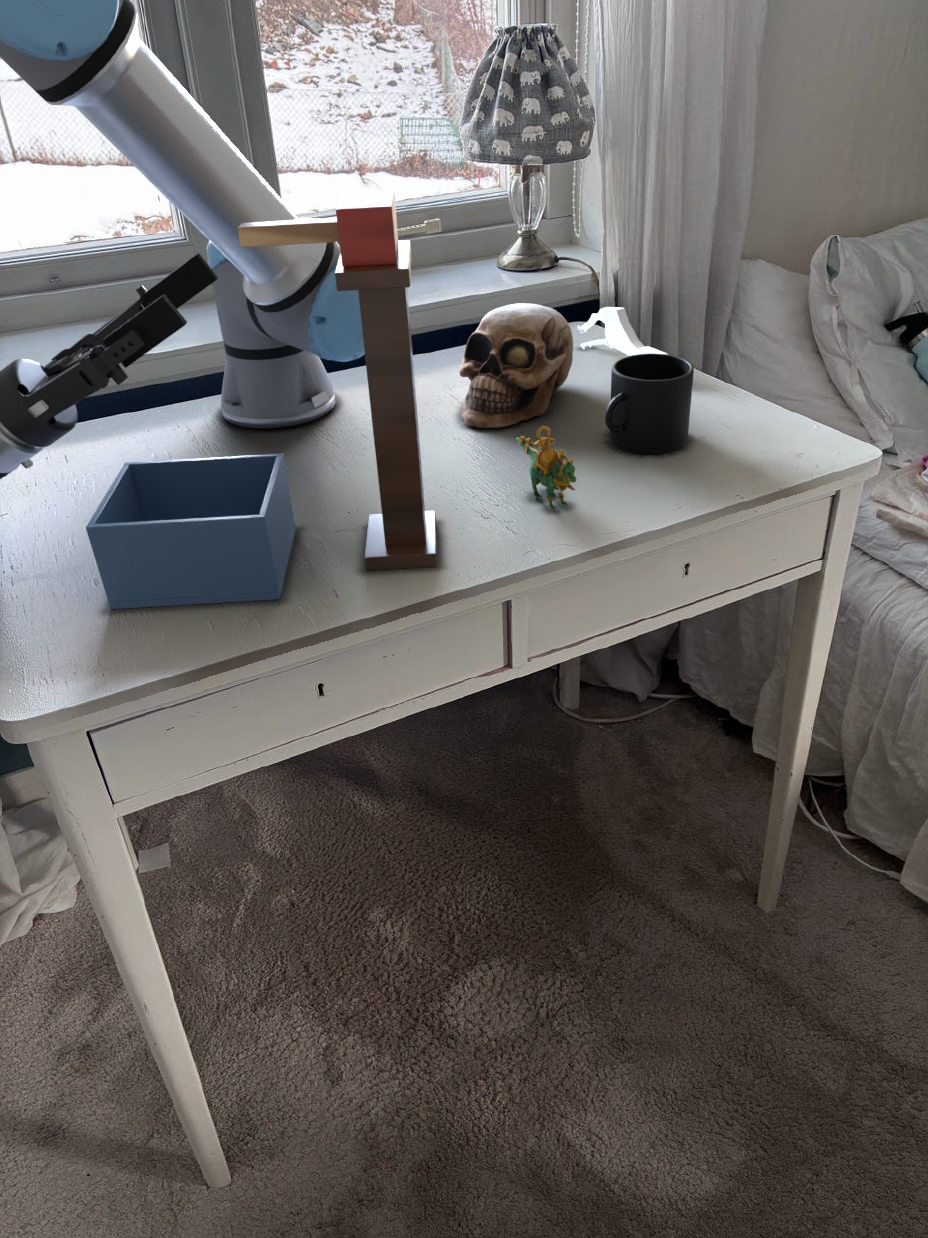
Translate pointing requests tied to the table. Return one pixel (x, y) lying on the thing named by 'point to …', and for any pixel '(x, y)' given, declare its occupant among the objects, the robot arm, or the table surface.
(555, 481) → the figurine
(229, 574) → the tub
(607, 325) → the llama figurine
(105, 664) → the table surface
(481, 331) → the tan skull model
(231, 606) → the table surface
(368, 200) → the mallet
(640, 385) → the mug
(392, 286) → the stand
